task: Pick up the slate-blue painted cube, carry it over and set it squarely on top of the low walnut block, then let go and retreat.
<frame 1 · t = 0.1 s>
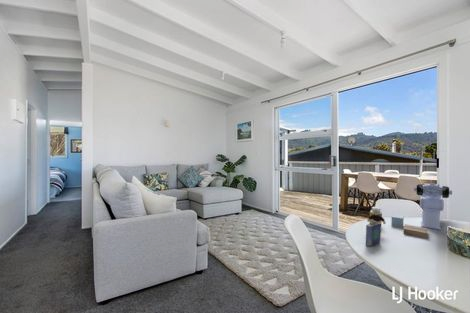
hand: (432, 191, 110), 22 cm above the table, tool horizontal, fingers open, 7 cm apart
slate cube: (397, 225, 126), on the table
walnut block: (415, 234, 114), on the table
flask: (372, 244, 101), on the table
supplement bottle: (375, 226, 124), on the table
grandmother figurine: (376, 233, 114), on the table
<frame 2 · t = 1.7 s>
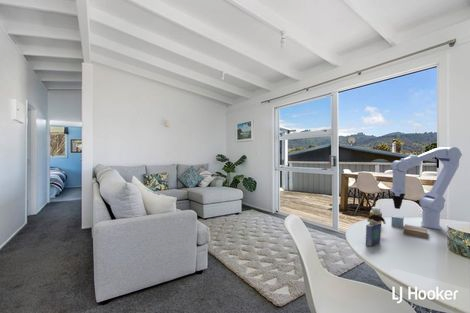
hand: (397, 207, 126), 10 cm above the table, tool pointing down, fingers open, 7 cm apart
nothing on the table moved.
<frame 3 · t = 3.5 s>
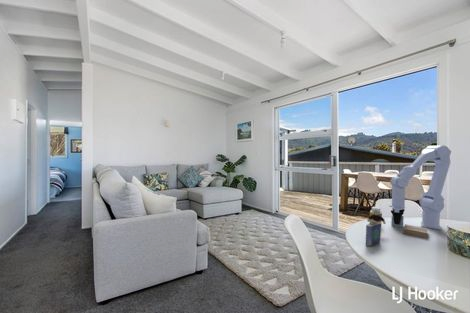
hand: (397, 222, 126), 1 cm above the table, tool pointing down, fingers closed on slate cube, 5 cm apart
slate cube: (397, 225, 126), on the table, touching gripper
everything else where it was.
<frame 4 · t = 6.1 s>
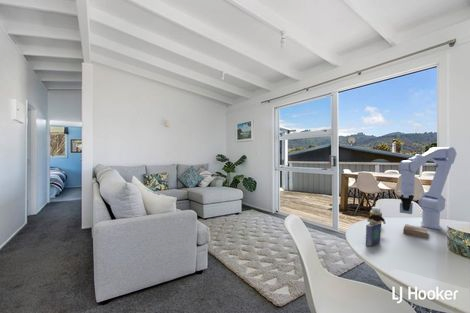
hand: (406, 209, 120), 10 cm above the table, tool pointing down, fingers closed on slate cube, 5 cm apart
slate cube: (406, 212, 120), point 9 cm above the table, touching gripper
everything else where it was.
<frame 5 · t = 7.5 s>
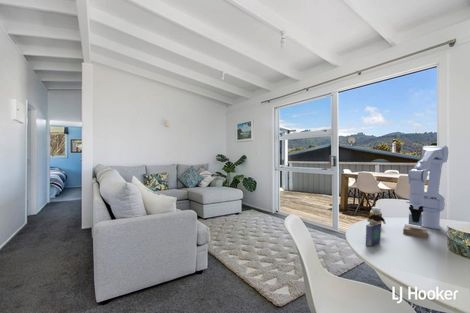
hand: (415, 220, 114), 6 cm above the table, tool pointing down, fingers closed on slate cube, 5 cm apart
slate cube: (415, 224, 114), point 5 cm above the table, touching gripper
everything else where it was.
when the fingers open (5 cm above the table, at t = 8.7 s): slate cube drops 1 cm, point 3 cm above the table.
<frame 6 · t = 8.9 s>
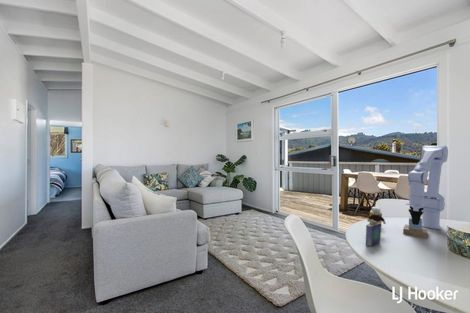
hand: (415, 222, 114), 5 cm above the table, tool pointing down, fingers open, 7 cm apart
slate cube: (415, 228, 114), point 3 cm above the table
everything else where it was.
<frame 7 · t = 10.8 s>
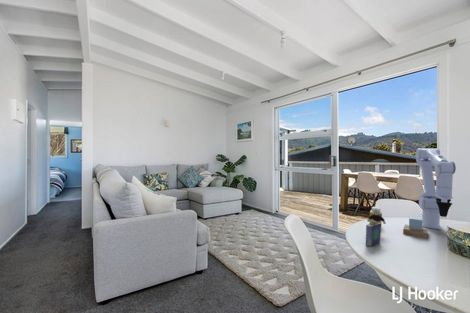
hand: (442, 214, 110), 10 cm above the table, tool pointing down, fingers open, 7 cm apart
nothing on the table moved.
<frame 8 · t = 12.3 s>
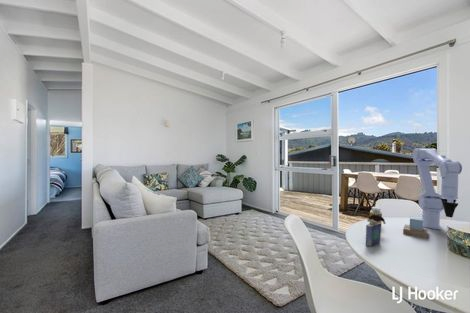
hand: (448, 215, 110), 10 cm above the table, tool pointing down, fingers open, 7 cm apart
nothing on the table moved.
at the end: slate cube 0.1 cm off-centre on the walnut block, point 3.1 cm above the walnut block's base; slate cube tilted 1°; the gripper is holding nothing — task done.
